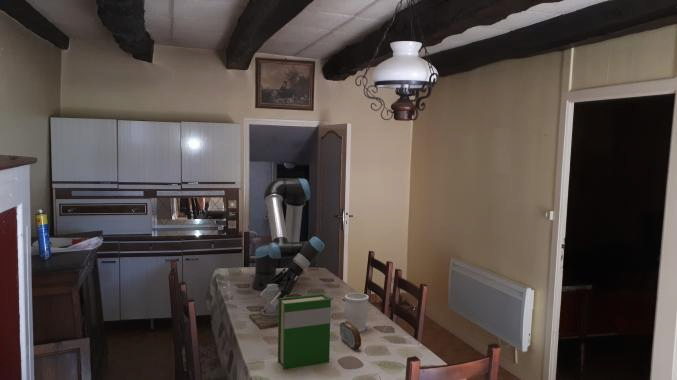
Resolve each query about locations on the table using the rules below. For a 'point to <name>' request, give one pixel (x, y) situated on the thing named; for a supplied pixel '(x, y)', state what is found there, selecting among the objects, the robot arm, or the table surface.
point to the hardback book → (304, 330)
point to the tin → (350, 335)
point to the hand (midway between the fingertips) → (267, 300)
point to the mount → (264, 319)
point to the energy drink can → (270, 294)
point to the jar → (356, 310)
